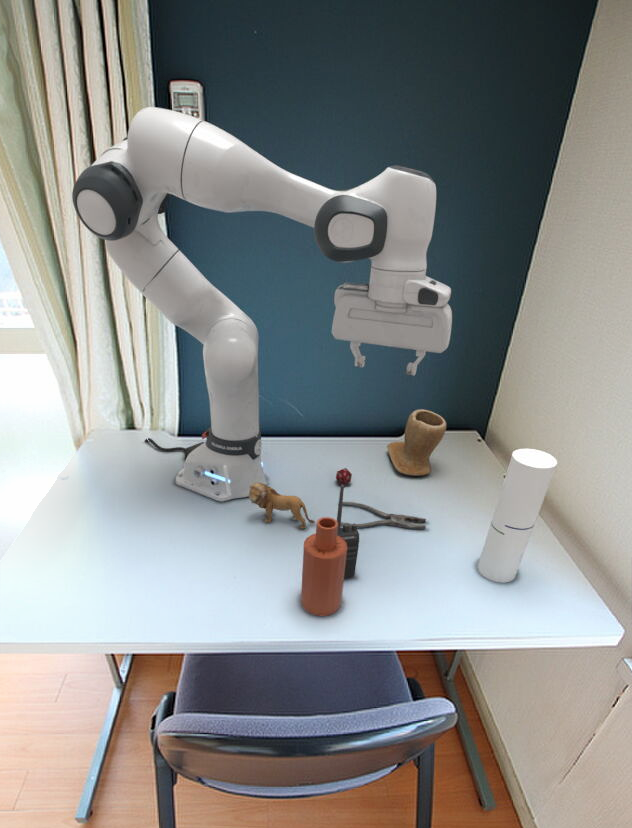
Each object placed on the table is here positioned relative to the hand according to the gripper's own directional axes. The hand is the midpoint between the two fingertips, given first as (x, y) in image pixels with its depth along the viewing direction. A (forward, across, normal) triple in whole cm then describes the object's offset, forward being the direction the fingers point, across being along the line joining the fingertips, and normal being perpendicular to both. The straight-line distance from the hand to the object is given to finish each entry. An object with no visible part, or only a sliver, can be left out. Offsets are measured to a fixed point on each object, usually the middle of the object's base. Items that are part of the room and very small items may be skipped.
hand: (384, 370), depth 92 cm
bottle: (+35, -1, -25) cm, 43 cm away
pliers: (+35, +2, +6) cm, 36 cm away
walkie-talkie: (+35, 0, -16) cm, 39 cm away
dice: (+35, -10, +17) cm, 40 cm away
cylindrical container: (+35, +28, -3) cm, 45 cm away
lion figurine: (+35, -18, -5) cm, 40 cm away
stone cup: (+35, +4, +34) cm, 49 cm away
